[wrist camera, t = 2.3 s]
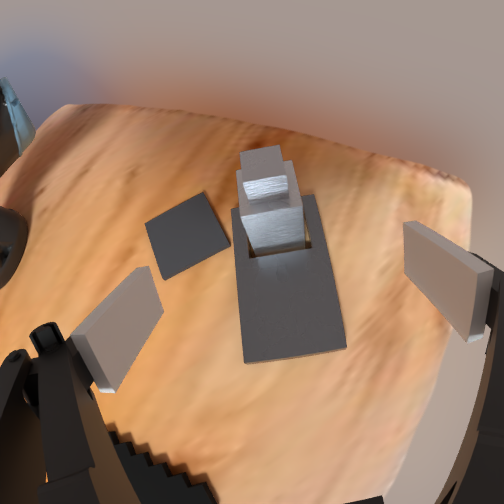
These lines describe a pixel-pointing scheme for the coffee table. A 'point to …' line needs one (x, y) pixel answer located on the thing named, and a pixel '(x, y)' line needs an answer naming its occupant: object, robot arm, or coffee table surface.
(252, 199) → the stepped metal tower
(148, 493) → the decorative item
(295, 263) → the slotted plate
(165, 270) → the pad
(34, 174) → the coffee table surface
